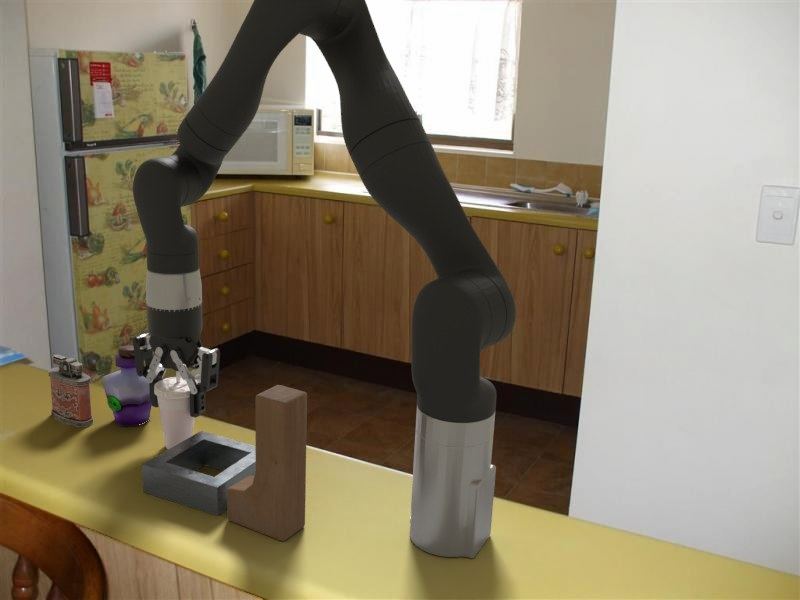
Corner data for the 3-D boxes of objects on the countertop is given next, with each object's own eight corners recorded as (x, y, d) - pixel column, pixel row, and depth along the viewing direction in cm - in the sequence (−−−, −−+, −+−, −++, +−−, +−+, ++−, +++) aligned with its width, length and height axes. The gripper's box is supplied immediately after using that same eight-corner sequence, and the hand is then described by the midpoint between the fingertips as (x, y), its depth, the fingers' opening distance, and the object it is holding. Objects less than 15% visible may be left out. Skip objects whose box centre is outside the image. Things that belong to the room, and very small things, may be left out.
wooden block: (226, 520, 105) (224, 385, 100) (249, 505, 109) (248, 374, 104) (283, 543, 101) (285, 403, 96) (306, 526, 105) (308, 391, 100)
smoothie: (206, 438, 127) (205, 350, 123) (192, 457, 121) (190, 365, 117) (165, 434, 128) (162, 347, 124) (149, 453, 122) (145, 361, 118)
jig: (271, 476, 117) (271, 450, 116) (217, 516, 106) (217, 487, 105) (201, 456, 122) (201, 430, 120) (143, 492, 111) (142, 464, 110)
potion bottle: (93, 428, 129) (88, 354, 125) (118, 406, 137) (114, 336, 134) (147, 433, 128) (144, 359, 125) (169, 411, 136) (167, 340, 133)
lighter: (98, 422, 131) (95, 361, 128) (80, 429, 128) (76, 367, 126) (64, 409, 135) (60, 349, 132) (46, 415, 132) (41, 355, 130)
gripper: (232, 301, 119) (233, 412, 123) (152, 286, 125) (156, 392, 129) (198, 315, 112) (201, 430, 117) (115, 297, 118) (121, 408, 123)
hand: (177, 410), depth 123 cm, fingers open, 6 cm apart
